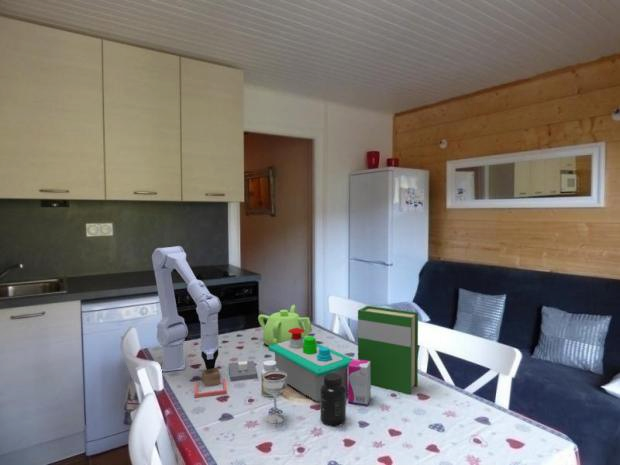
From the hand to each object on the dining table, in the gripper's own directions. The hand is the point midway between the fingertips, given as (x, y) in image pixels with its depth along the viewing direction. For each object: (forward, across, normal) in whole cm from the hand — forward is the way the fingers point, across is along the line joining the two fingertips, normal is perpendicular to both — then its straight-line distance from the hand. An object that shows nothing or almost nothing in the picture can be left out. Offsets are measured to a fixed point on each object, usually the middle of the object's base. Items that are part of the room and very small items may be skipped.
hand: (210, 372), depth 133 cm
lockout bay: (+2, -9, 0) cm, 9 cm away
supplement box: (+2, -29, -43) cm, 52 cm away
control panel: (+2, -14, -32) cm, 35 cm away
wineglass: (+2, -32, -17) cm, 36 cm away
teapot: (+2, +28, -32) cm, 43 cm away
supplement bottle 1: (+2, -17, -18) cm, 25 cm away
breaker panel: (+2, +1, -11) cm, 11 cm away
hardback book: (+2, -21, -56) cm, 60 cm away
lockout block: (+2, -4, 0) cm, 4 cm away
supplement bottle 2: (+2, -37, -32) cm, 49 cm away
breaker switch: (0, -1, -11) cm, 11 cm away
